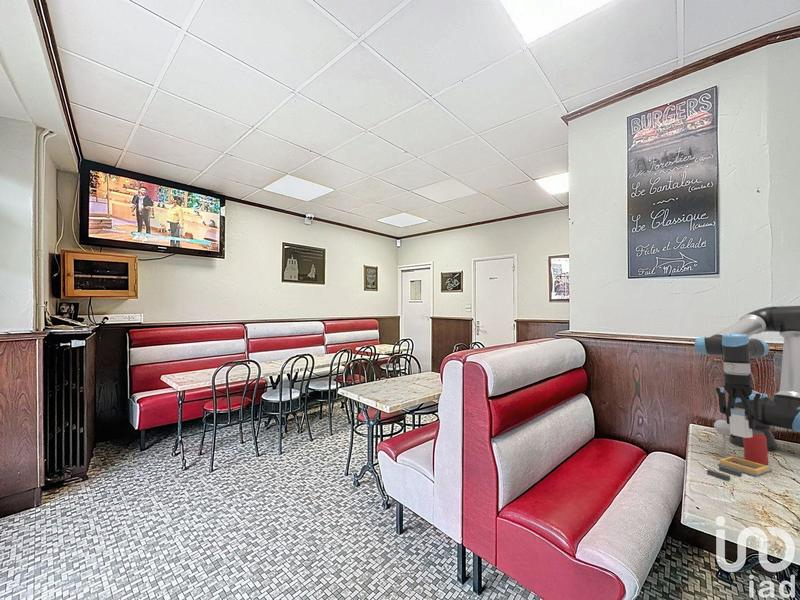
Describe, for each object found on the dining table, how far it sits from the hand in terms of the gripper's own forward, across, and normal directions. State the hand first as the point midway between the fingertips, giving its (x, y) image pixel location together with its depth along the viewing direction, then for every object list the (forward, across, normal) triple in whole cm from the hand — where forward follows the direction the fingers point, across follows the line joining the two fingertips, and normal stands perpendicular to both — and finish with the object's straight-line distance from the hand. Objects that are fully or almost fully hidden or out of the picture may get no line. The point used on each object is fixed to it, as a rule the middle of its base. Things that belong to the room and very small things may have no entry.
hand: (741, 435), depth 131 cm
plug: (0, 0, 0) cm, 0 cm away
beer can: (+13, -1, +12) cm, 18 cm away
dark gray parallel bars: (+13, 0, -14) cm, 19 cm away
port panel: (+13, 0, 0) cm, 13 cm away
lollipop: (+13, -9, +8) cm, 18 cm away
